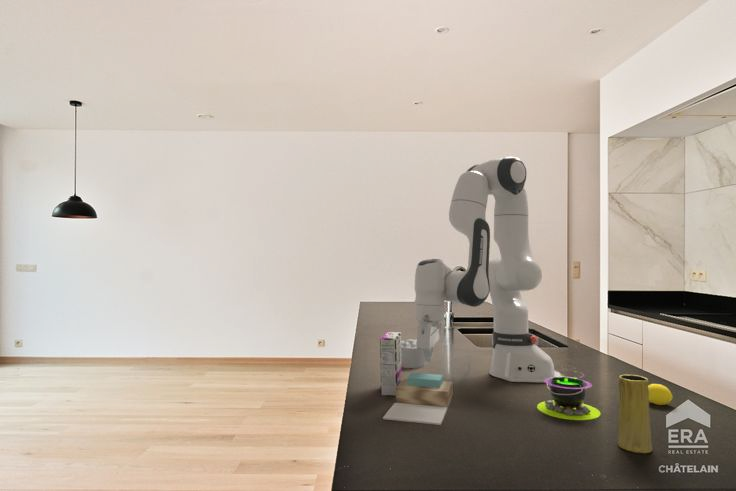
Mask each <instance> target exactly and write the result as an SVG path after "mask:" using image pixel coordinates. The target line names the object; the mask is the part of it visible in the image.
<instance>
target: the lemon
mask: <svg viewBox="0 0 736 491" xmlns="http://www.w3.org/2000/svg"><path fill="white" fill-rule="evenodd" d="M648 390H649V403H651V404H654V405H658V406H663V405H664V406H665V405H667V404H669V403H671V401H672V400H673V398H674V396H673V393H672V392H671V391H670V389H669V388H668V387H667V386H665V385H663V384H660V383H650V384H648Z"/></svg>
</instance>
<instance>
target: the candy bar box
mask: <svg viewBox="0 0 736 491" xmlns="http://www.w3.org/2000/svg"><path fill="white" fill-rule="evenodd" d="M401 340H402V332H401V331H400V332H399V331H386V332H385V333H384V334H383V335H382V336H381V337H380V338H379V345H380V346H379V347H380V351H379V352H380V394H381V396H383V397H384V396H385V397H386V396H387V397H396V387H397V386H398V385H399V384H400V382H401V381H402V380H403V374H402V373H403V372H402V369H403V367H402V360H401Z"/></svg>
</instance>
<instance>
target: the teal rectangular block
mask: <svg viewBox="0 0 736 491" xmlns="http://www.w3.org/2000/svg"><path fill="white" fill-rule="evenodd" d="M443 381H444V374H434V373H421V372H411V373H410V374H409V375H408V376H407V385H410V386H423V387H436V388H440V387H441V385H442V383H443Z"/></svg>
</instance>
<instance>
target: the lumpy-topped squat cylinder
mask: <svg viewBox="0 0 736 491" xmlns="http://www.w3.org/2000/svg"><path fill="white" fill-rule="evenodd" d="M416 343H417V338H416V339H411V338H409V339H405V340H402V339H401V360H402V368H403V367H404V368H403V369H410V368H412V369H420V368H424V367H426V366H427V364H428V362H425V360H424V357H425V356H424V351H420V350H417V346H416ZM426 363H427V364H426ZM425 365H426V366H425ZM423 366H424V367H423ZM419 367H420V368H419Z"/></svg>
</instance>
